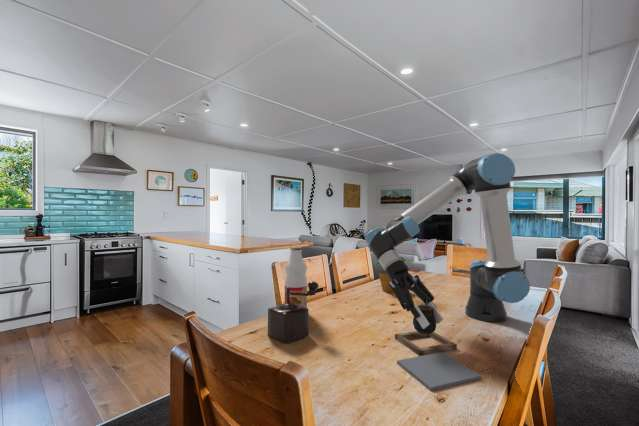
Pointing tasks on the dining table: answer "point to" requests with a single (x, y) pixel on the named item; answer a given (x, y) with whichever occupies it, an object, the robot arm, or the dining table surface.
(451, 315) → the dining table surface
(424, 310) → the mate gourd
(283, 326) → the pepper mill
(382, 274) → the potted plant
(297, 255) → the fruit juice
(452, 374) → the charcoal mat
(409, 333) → the frame
